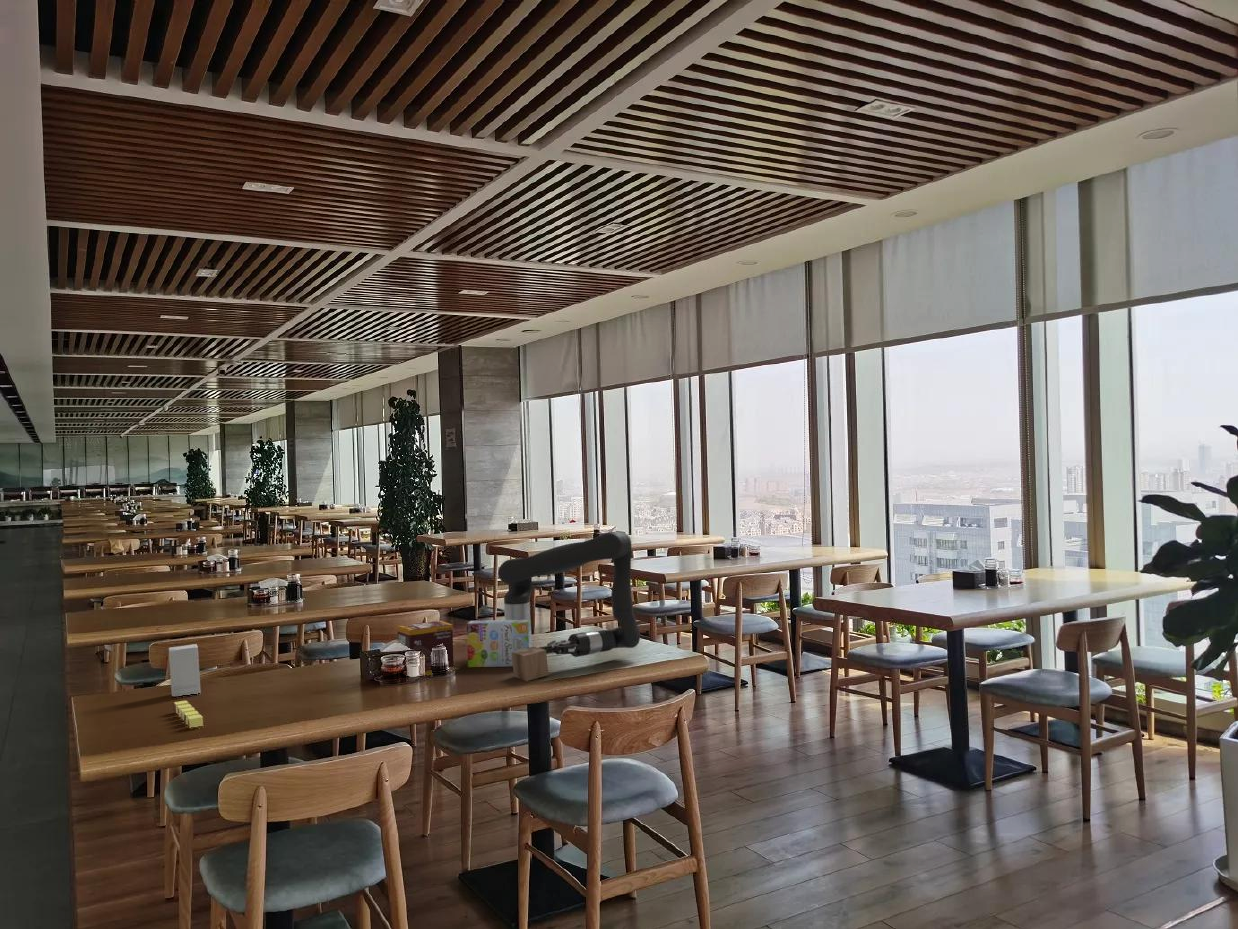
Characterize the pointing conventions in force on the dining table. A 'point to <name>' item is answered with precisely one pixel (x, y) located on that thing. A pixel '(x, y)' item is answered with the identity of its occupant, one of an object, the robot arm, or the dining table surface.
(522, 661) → the walnut cube
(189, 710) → the yellow segmented bar
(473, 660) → the snack box
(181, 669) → the skincare box
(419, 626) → the supplement box
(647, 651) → the dining table surface
